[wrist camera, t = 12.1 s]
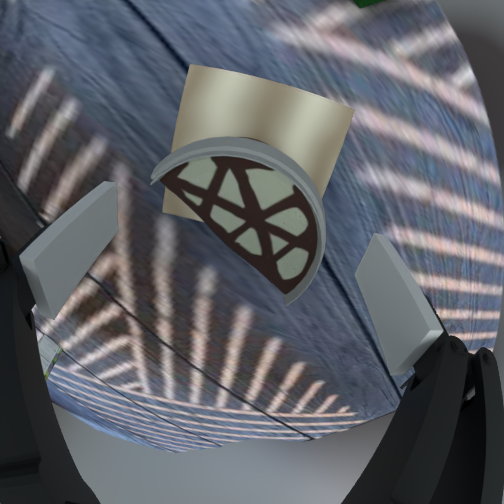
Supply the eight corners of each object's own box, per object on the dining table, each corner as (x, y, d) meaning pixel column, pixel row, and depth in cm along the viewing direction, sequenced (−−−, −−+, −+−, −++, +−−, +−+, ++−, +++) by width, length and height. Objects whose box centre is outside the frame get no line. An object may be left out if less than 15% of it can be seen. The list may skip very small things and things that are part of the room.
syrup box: (56, 354, 51) (34, 400, 39) (38, 339, 49) (13, 384, 36) (63, 348, 49) (38, 398, 37) (44, 332, 47) (17, 381, 34)
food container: (333, 197, 24) (370, 260, 16) (281, 235, 26) (291, 310, 18) (240, 91, 19) (226, 90, 11) (187, 141, 22) (142, 177, 13)
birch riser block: (176, 193, 30) (162, 211, 25) (202, 68, 22) (190, 64, 18) (296, 223, 31) (302, 246, 27) (339, 106, 24) (354, 109, 20)
